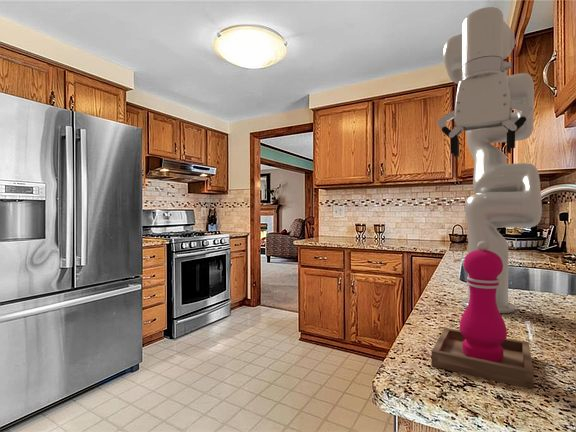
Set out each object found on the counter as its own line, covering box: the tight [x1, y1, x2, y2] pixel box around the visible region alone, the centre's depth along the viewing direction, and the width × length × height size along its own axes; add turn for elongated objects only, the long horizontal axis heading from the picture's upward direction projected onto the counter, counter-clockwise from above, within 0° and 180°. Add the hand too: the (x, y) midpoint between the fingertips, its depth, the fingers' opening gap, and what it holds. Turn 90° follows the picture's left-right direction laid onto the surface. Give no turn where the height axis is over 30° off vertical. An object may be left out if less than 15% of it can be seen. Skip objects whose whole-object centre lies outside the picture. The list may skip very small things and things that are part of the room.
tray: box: [430, 327, 534, 390], centre depth 59 cm, size 14×14×2 cm
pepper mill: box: [459, 241, 508, 362], centre depth 59 cm, size 7×7×20 cm
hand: (481, 154), depth 71 cm, fingers open, 9 cm apart
